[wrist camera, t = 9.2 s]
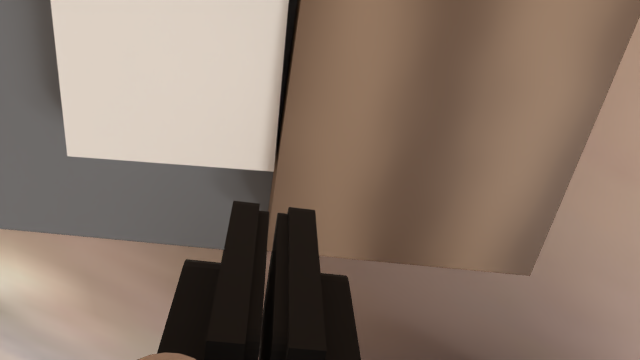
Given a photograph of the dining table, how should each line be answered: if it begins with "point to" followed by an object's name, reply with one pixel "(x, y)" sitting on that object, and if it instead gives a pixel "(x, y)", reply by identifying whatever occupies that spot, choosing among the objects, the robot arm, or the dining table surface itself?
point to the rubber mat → (99, 174)
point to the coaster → (171, 80)
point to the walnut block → (441, 123)
